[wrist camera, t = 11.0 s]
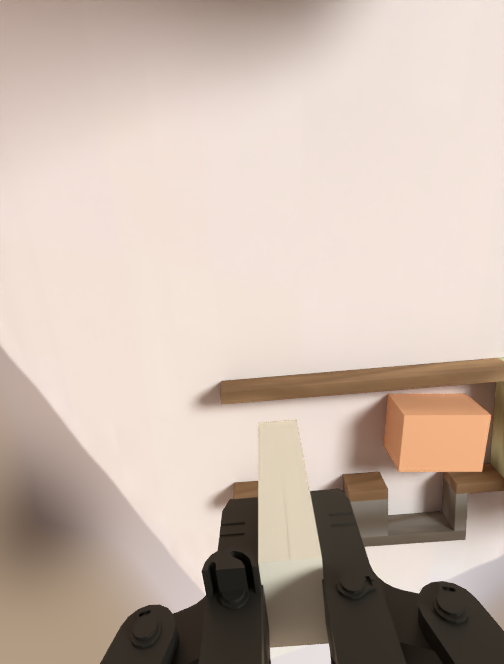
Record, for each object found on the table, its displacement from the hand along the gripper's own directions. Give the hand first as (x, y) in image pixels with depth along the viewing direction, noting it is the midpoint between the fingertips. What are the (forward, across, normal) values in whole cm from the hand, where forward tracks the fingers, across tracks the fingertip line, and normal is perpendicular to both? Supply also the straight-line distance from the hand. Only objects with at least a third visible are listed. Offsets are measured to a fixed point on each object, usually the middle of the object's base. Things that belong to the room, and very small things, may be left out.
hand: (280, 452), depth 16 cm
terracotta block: (+25, +15, -14) cm, 33 cm away
